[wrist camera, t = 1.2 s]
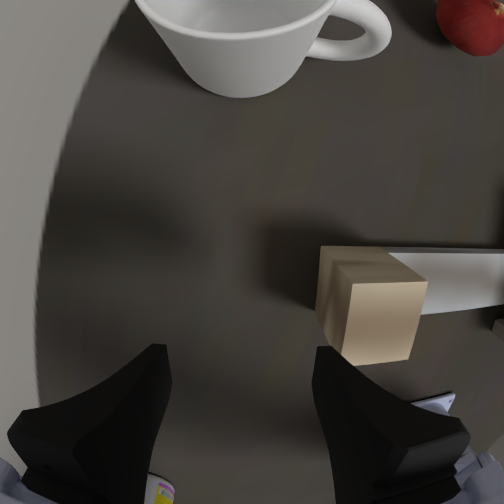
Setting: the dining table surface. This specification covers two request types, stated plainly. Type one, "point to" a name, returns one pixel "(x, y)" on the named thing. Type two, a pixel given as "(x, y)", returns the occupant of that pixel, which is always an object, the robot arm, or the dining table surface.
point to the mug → (259, 38)
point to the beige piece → (398, 294)
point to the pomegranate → (472, 25)
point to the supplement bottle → (158, 491)
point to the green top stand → (499, 328)
